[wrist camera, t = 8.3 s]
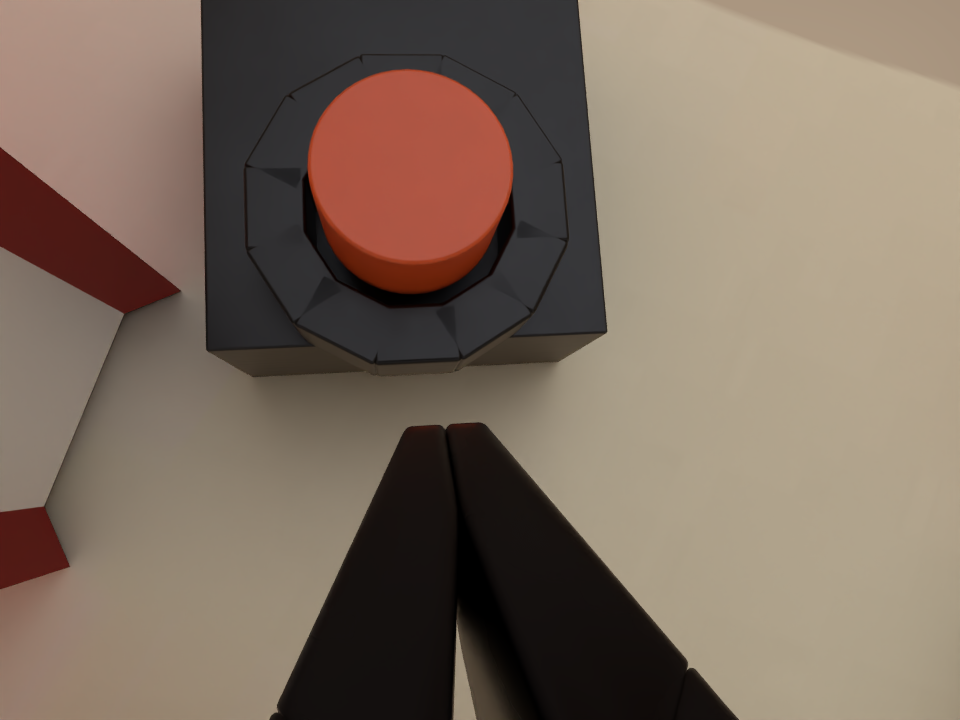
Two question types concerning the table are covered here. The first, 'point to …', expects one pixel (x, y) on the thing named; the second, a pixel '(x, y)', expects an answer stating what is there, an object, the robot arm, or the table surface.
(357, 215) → the button
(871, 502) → the table surface
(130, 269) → the book
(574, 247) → the button base
